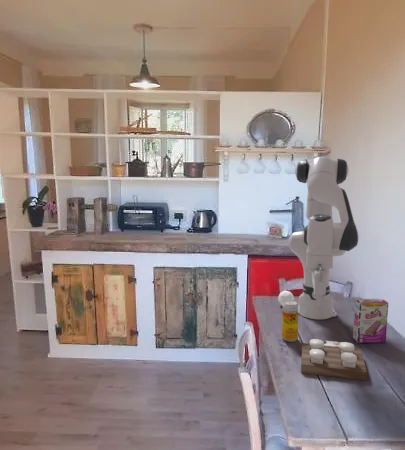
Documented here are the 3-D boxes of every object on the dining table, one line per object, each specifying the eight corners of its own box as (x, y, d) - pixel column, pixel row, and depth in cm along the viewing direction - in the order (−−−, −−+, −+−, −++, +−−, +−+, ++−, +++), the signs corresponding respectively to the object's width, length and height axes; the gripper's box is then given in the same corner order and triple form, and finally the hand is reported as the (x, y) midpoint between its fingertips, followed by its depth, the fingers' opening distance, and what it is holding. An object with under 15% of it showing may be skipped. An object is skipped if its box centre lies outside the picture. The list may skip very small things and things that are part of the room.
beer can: (286, 343, 144) (287, 306, 142) (279, 336, 150) (279, 301, 148) (300, 341, 146) (301, 304, 144) (292, 334, 152) (293, 299, 150)
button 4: (340, 362, 125) (340, 351, 124) (355, 364, 124) (356, 353, 123) (341, 370, 120) (341, 358, 120) (357, 372, 119) (357, 360, 119)
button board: (302, 350, 138) (302, 343, 137) (360, 357, 132) (360, 349, 132) (300, 372, 123) (301, 364, 122) (366, 381, 117) (366, 372, 117)
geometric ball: (290, 311, 184) (297, 302, 179) (275, 306, 184) (282, 297, 179) (289, 300, 190) (297, 290, 185) (275, 295, 190) (282, 285, 185)
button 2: (338, 352, 133) (339, 341, 132) (353, 353, 131) (353, 342, 131) (339, 358, 128) (340, 347, 127) (354, 360, 127) (355, 349, 126)
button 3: (309, 359, 128) (309, 348, 127) (324, 360, 126) (324, 349, 126) (309, 366, 123) (309, 354, 123) (324, 368, 122) (324, 356, 121)
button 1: (309, 348, 135) (309, 338, 135) (323, 350, 134) (323, 339, 134) (309, 354, 131) (309, 344, 130) (323, 356, 129) (324, 345, 129)
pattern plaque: (317, 341, 145) (317, 339, 145) (341, 343, 143) (341, 341, 143) (317, 349, 139) (317, 347, 139) (343, 352, 136) (343, 350, 136)
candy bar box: (358, 344, 142) (359, 303, 140) (352, 338, 147) (354, 298, 145) (386, 343, 143) (389, 302, 141) (380, 337, 148) (382, 297, 146)
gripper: (331, 268, 118) (329, 311, 119) (326, 256, 137) (325, 293, 139) (310, 267, 119) (309, 309, 121) (308, 255, 139) (307, 292, 140)
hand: (317, 300), depth 130 cm, fingers open, 8 cm apart
